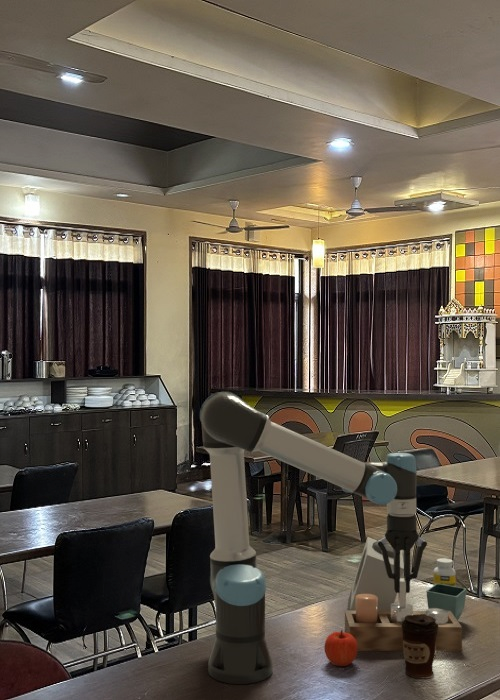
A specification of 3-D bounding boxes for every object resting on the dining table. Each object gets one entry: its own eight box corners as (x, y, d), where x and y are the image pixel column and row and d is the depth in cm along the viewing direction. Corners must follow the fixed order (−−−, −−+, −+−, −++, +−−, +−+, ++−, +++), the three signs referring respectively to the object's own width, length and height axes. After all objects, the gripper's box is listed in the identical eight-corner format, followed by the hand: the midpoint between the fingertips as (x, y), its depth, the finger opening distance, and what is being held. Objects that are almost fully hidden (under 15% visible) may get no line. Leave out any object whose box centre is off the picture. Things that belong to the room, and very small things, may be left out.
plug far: (427, 642, 200) (427, 615, 200) (423, 634, 206) (423, 608, 206) (450, 643, 200) (450, 615, 200) (445, 635, 206) (445, 608, 205)
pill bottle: (434, 601, 235) (434, 562, 235) (432, 594, 241) (432, 557, 241) (456, 602, 234) (456, 563, 234) (454, 595, 240) (454, 557, 240)
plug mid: (392, 636, 200) (392, 609, 200) (389, 629, 206) (389, 602, 206) (414, 637, 200) (414, 609, 200) (410, 629, 206) (410, 602, 206)
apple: (338, 654, 195) (338, 621, 195) (364, 663, 189) (364, 630, 189) (317, 663, 189) (317, 630, 189) (343, 673, 184) (343, 639, 184)
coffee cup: (430, 685, 177) (430, 627, 177) (395, 676, 182) (395, 620, 181) (442, 671, 185) (443, 616, 184) (409, 663, 189) (409, 609, 189)
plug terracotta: (357, 628, 200) (357, 600, 200) (354, 620, 206) (354, 593, 206) (379, 628, 200) (379, 600, 200) (375, 620, 206) (375, 593, 206)
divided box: (349, 650, 197) (349, 626, 197) (344, 632, 209) (344, 610, 209) (461, 651, 197) (461, 627, 197) (450, 633, 209) (450, 611, 209)
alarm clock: (348, 600, 236) (348, 533, 236) (401, 602, 234) (401, 534, 234) (345, 624, 216) (345, 550, 216) (404, 627, 214) (404, 552, 214)
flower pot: (467, 620, 219) (467, 588, 219) (457, 629, 212) (457, 596, 212) (436, 614, 224) (436, 582, 224) (425, 623, 216) (425, 591, 216)
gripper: (378, 516, 199) (378, 609, 199) (430, 516, 199) (430, 609, 199) (374, 510, 207) (374, 600, 207) (424, 510, 206) (424, 600, 207)
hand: (402, 604), depth 203 cm, fingers closed
